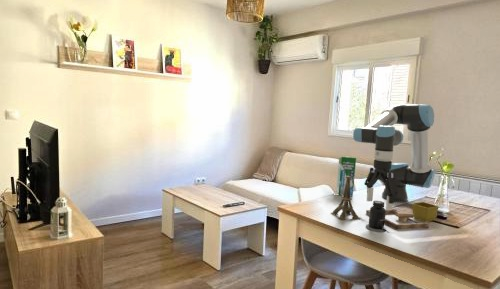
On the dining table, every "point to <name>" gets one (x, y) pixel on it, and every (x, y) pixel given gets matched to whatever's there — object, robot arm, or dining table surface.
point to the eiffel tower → (346, 203)
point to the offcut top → (404, 214)
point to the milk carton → (345, 174)
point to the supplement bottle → (377, 215)
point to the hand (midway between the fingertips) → (378, 205)
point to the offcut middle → (402, 219)
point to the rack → (402, 226)
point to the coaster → (375, 229)
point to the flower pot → (424, 211)
